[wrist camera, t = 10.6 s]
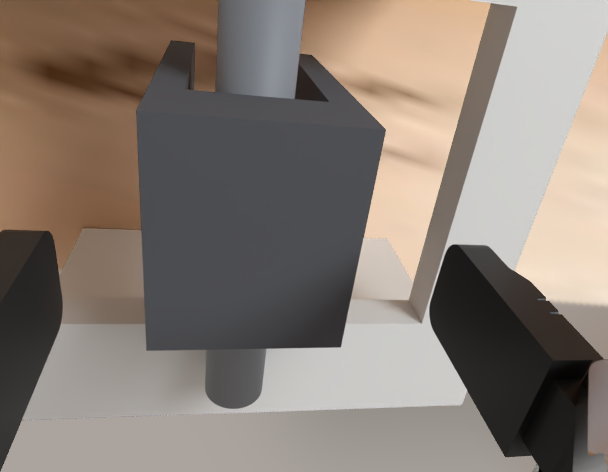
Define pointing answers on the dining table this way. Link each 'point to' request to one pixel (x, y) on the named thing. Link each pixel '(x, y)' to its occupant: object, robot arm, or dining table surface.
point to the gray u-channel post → (251, 209)
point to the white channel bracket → (375, 251)
